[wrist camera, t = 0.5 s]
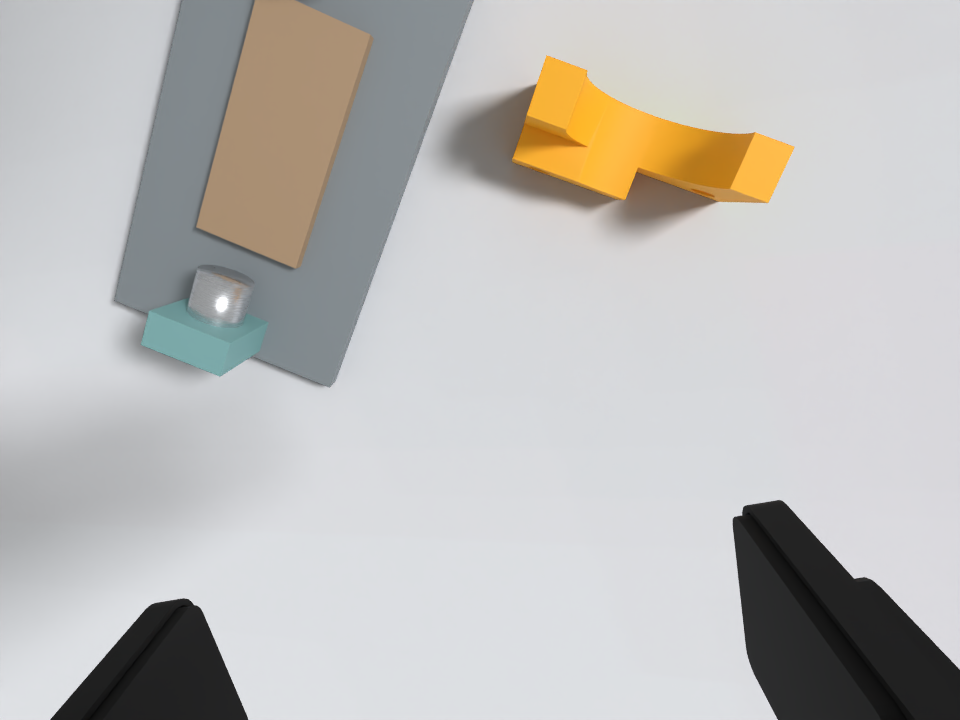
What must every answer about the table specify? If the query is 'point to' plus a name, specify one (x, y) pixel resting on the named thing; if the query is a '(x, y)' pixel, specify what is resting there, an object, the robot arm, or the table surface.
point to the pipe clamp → (638, 145)
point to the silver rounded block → (220, 296)
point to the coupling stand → (282, 169)
